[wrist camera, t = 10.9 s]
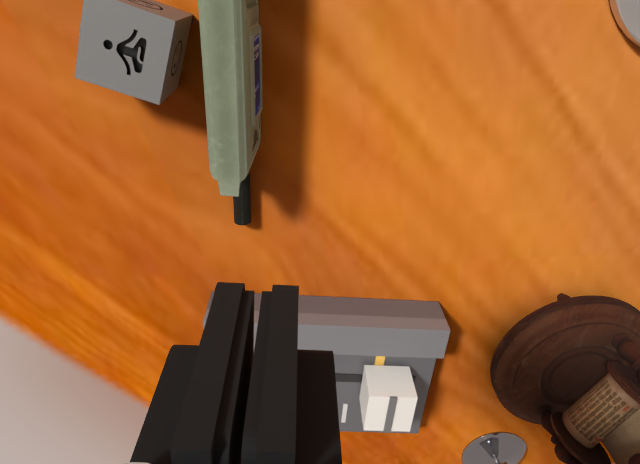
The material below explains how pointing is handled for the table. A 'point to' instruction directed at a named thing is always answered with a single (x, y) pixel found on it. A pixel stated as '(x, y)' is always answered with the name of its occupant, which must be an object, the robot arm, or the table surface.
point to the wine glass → (495, 449)
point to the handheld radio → (232, 94)
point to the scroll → (576, 377)
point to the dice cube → (133, 47)
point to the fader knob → (387, 398)
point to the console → (370, 343)
